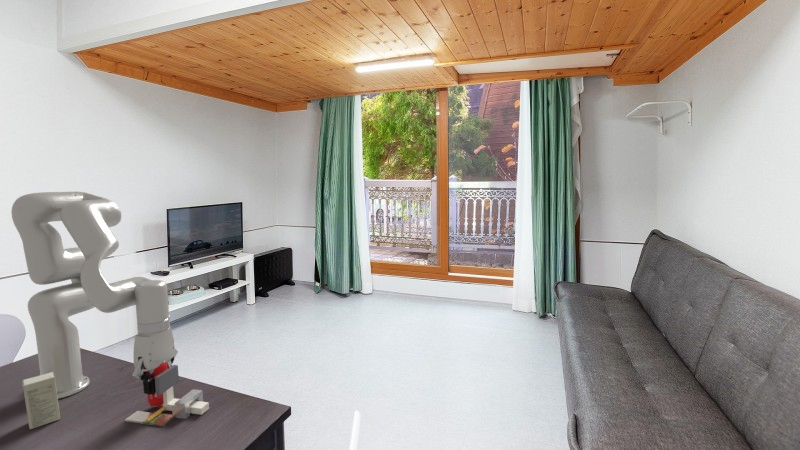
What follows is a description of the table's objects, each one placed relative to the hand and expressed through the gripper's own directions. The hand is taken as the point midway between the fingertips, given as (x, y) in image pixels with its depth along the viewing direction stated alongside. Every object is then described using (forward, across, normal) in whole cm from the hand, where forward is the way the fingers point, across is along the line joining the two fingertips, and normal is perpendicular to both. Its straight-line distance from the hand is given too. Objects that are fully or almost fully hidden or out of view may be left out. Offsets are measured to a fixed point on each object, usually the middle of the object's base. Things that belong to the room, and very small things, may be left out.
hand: (158, 387), depth 110 cm
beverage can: (+5, 0, 0) cm, 5 cm away
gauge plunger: (+6, +2, +9) cm, 10 cm away
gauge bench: (+6, +2, +4) cm, 7 cm away
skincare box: (+6, +12, -25) cm, 28 cm away
